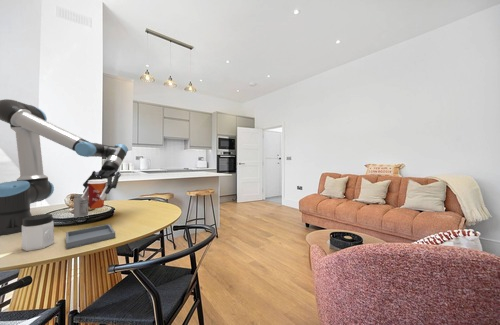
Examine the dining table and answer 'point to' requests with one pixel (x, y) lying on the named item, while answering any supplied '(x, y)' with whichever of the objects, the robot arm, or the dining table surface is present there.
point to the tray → (89, 236)
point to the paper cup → (96, 193)
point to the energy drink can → (80, 206)
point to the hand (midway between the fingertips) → (92, 198)
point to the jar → (37, 232)
